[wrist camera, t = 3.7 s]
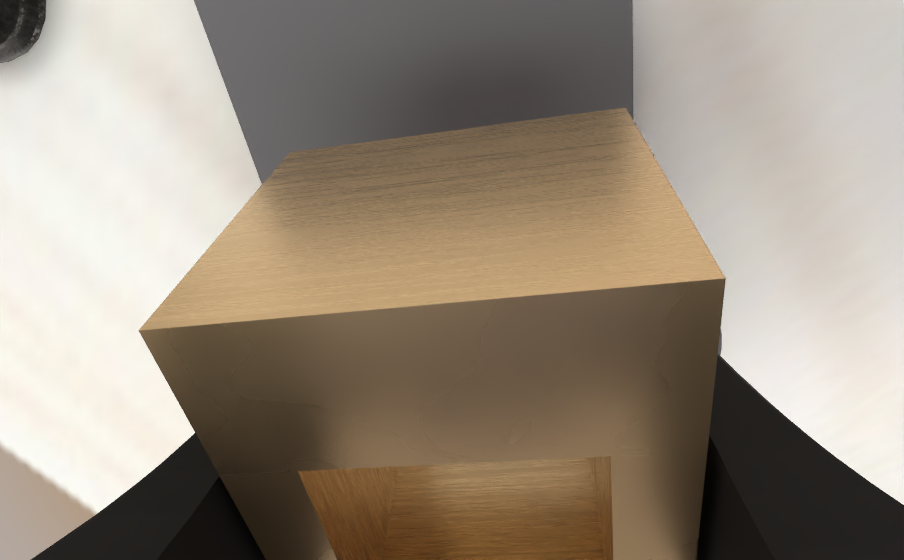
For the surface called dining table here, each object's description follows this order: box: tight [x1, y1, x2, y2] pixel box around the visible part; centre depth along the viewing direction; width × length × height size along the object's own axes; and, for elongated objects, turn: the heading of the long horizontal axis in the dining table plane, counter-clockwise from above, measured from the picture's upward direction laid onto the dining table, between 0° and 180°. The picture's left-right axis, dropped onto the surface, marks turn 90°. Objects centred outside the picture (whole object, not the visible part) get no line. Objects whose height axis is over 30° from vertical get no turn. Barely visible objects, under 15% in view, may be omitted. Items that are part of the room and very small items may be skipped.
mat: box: [194, 0, 633, 184], centre depth 16 cm, size 12×10×1 cm
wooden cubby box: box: [139, 107, 725, 560], centre depth 10 cm, size 6×8×5 cm
